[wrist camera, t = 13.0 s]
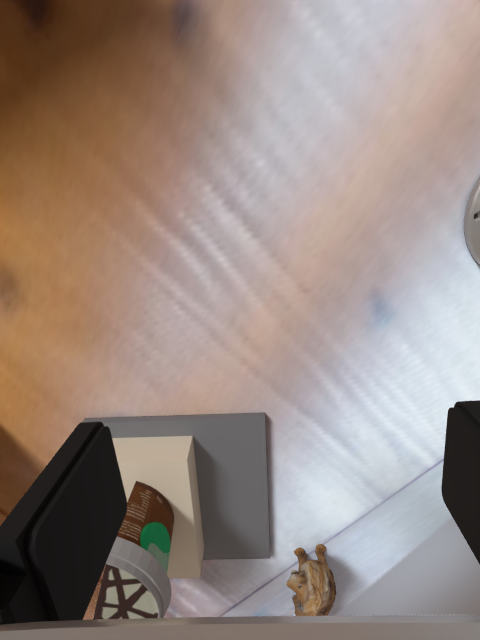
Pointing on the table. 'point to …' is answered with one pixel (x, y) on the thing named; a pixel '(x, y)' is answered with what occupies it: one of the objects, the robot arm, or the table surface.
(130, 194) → the table surface
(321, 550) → the lion figurine
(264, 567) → the table surface
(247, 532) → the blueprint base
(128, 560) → the food container
